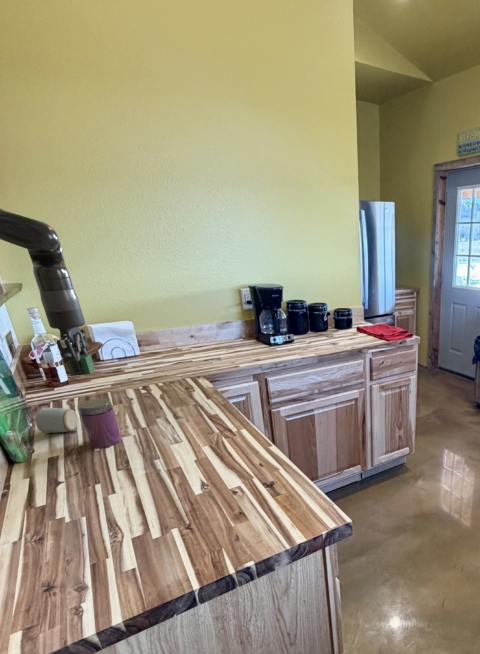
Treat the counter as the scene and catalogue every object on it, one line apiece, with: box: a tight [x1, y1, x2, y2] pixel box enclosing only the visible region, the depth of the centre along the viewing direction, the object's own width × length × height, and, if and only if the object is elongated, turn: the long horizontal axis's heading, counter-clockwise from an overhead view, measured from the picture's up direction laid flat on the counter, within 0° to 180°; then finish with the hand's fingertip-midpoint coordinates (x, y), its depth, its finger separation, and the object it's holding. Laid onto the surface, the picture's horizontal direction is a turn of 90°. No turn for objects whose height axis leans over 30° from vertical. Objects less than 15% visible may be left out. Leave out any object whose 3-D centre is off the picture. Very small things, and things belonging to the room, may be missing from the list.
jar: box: [79, 406, 123, 449], centre depth 119 cm, size 8×8×12 cm
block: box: [65, 353, 96, 377], centre depth 112 cm, size 4×4×4 cm
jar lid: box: [78, 398, 113, 415], centre depth 117 cm, size 8×8×2 cm
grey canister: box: [35, 407, 80, 434], centre depth 128 cm, size 11×8×8 cm
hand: (82, 371), depth 112 cm, fingers closed on block, 4 cm apart
